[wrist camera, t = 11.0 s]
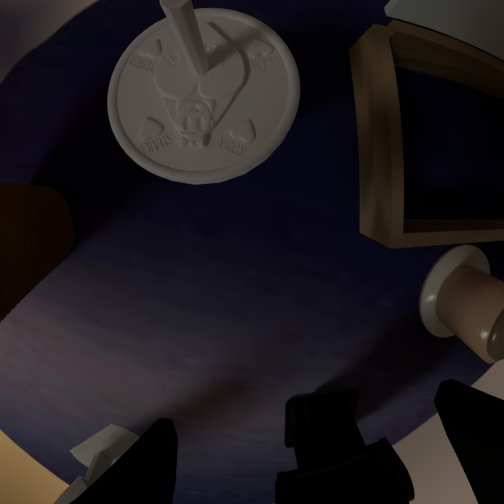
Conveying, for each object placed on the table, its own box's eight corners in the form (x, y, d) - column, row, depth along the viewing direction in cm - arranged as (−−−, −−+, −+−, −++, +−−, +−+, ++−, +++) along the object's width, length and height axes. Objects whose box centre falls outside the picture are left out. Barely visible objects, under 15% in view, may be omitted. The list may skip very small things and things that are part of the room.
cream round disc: (476, 325, 22) (479, 327, 22) (411, 341, 22) (414, 345, 21) (491, 241, 20) (495, 243, 20) (425, 246, 20) (429, 248, 19)
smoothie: (273, 86, 17) (341, -64, 3) (266, 183, 18) (344, 207, 5) (173, 83, 16) (69, -50, 3) (165, 178, 18) (11, 197, 4)
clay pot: (473, 319, 21) (535, 369, 12) (429, 330, 21) (493, 393, 12) (485, 262, 20) (560, 300, 11) (441, 267, 20) (523, 315, 11)
